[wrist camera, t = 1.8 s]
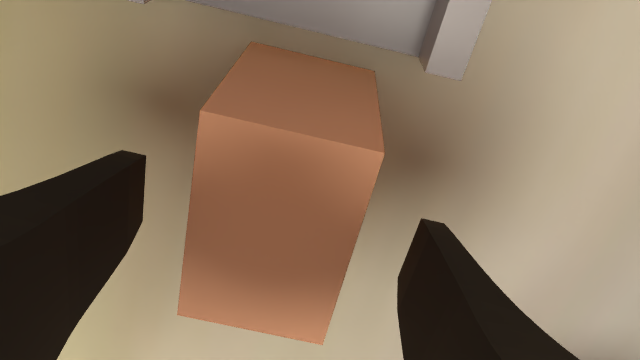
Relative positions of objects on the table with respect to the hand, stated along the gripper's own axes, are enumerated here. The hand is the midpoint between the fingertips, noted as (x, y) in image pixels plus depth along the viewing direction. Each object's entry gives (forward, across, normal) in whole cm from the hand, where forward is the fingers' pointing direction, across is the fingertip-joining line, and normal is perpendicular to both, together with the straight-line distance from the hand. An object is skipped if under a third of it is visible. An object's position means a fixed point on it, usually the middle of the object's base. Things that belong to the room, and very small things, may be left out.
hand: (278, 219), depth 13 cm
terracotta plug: (+5, 0, 0) cm, 5 cm away
